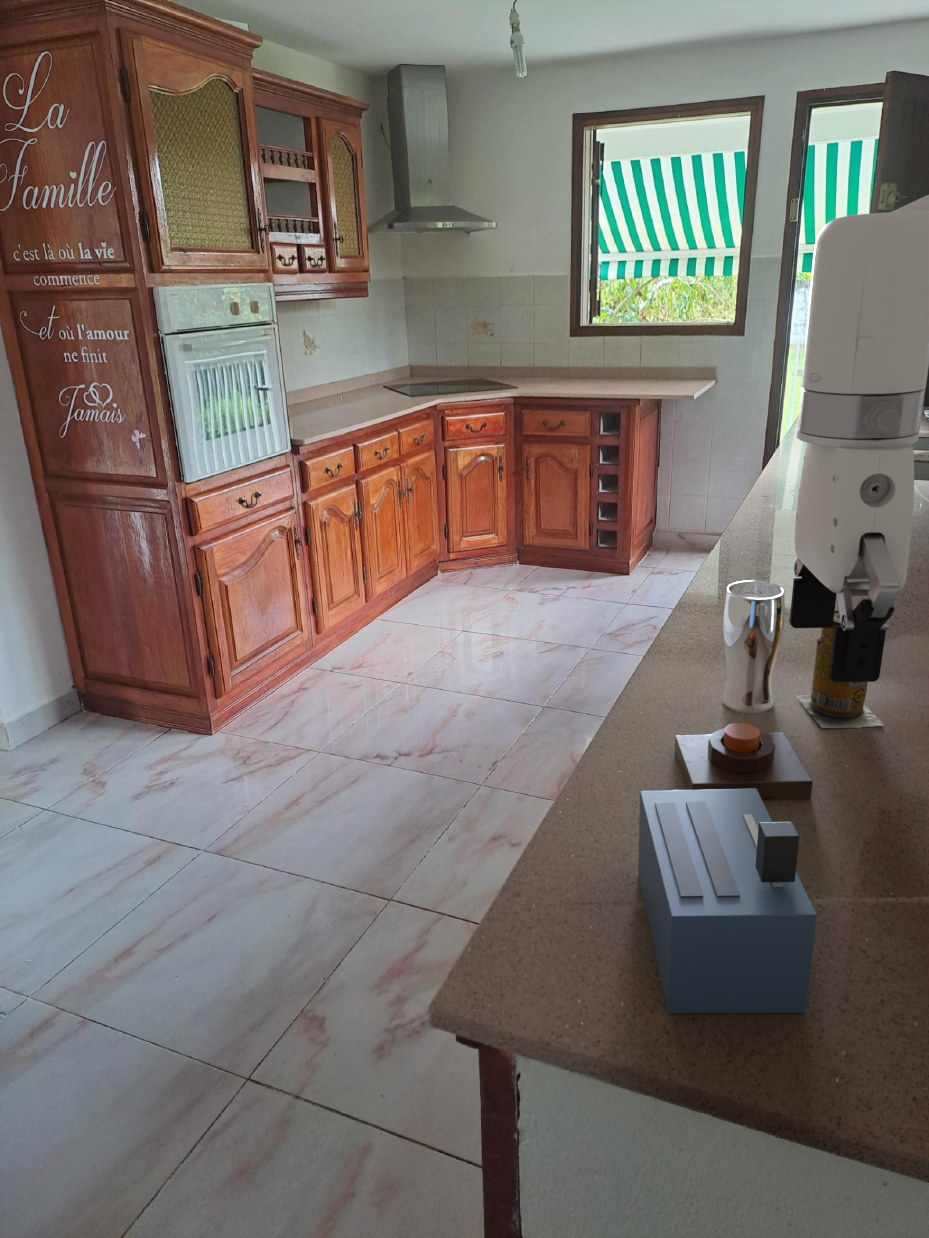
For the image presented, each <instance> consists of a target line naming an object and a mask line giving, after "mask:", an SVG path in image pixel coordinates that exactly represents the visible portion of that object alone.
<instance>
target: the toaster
mask: <svg viewBox="0 0 929 1238" xmlns="http://www.w3.org/2000/svg"><path fill="white" fill-rule="evenodd" d="M766 807H767V806H765V803H764V800H762V799H761V797H760V795H759V793H758V791H757V789H756V788H755V789H711V790H688V789H673V790H640V791H639V822H638V823H639V824H638V869H637V870H638V873H637V875H638V876H637V877H638V880H639V884H640V890H641V894H642V899H643V903H644V909H645V908H646V909H645V914H646V918H647V922H648V927H649V931H650V936H651V942H652V945H653V950H654V954H655V959H656V960H655V961H656V964H657V969H658V973H659V978H660V984H661V987H662V992H663V997H664V1001H665V1006H666V1010H667V1011H666V1012H667V1014H670V1015H672V1014H673V1015H674V1014H677V1015H679V1014H798V1013H799V1014H804V1013H806V1012H807V1003H808V996H809V995H808V994H809V986H810V977H811V968H812V959H813V949H814V941H815V933H816V925H817V917H818V916H817V913H816V910H815V908H814V906H813V904H812V902H811V899H810V898H809V895H808V894H807V891H806V889H805V887H804V884H803V883H802V881H801V879H800V877H799V875H798V872H797V871H796V875H795V882H761V879H760V877H759V874H758V872H757V870H756V867H755V866H756V853H757V841H758V828H759V823H763V822H773V820H772V818H771V815H770V814H769V812H768V809H767V808H766Z"/></svg>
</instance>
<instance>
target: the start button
mask: <svg viewBox="0 0 929 1238" xmlns="http://www.w3.org/2000/svg"><path fill="white" fill-rule="evenodd" d="M724 728H725V729H724ZM724 728H723V729H724V747H726V748H727V749H729V750H732V751H736V752H740V753H744V752H754V751H757V750H758V749H759V741H760V732H761V731H760V729H759V728H757V727H756V726H755V725H752V724H749V723H744V722H743V723H742V722H733V723H729V724H728V725H726V726H725V727H724Z"/></svg>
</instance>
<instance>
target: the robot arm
mask: <svg viewBox="0 0 929 1238" xmlns="http://www.w3.org/2000/svg"><path fill="white" fill-rule="evenodd" d="M812 259H813V260H812V270H811V280H810V289H809V290H810V291H809V299H808V310H807V311H808V312H807V322H806V333H805V343H804V351H803V352H804V354H803V364H802V373H801V374H802V376H801V388H800V395H799V407H798V416H797V418H798V419H797V426H796V427H797V430H796V438H797V439H798V440H799V441H801V442H803V443H806V446H805V450H804V455H803V463H802V469H801V474H800V481H799V487H798V495H797V504H796V511H795V512H796V514H795V523H794V551H795V554H796V560H795V562H794V566H793V573H794V576H795V577H794V578H793V581H792V591H791V592H792V593H791V602H790V611H789V612H790V613H789V625H790V626H791V627H792V628H793V629H821V628H829V627H831V626H832V625H833V620H834V611H835V610H836V602H837V606H838V610H839V614H840V622H841V625H835V626H834V634H833V643H832V651H831V659H830V668H829V677H830V678H831V679H832V681H834V682H868V683H873V682H877V681H878V680H879V679H880V676H881V670H882V669H881V668H882V662H883V654H884V647H885V641H886V634H887V631H888V630H889V629H890V625H891V620H890V619H891V617H892V616H893V613H894V612H895V607H894V603H895V601H896V599H897V597H898V595H899V592H901V590H903V589H904V587H905V585H906V583H907V582H906V580H907V574H908V566H909V557H910V548H911V538H912V537H911V536H912V527H913V515H914V514H913V513H914V498H915V497H914V496H915V453H914V446H913V445H912V444H915V443H917V442H918V441H919V437H920V429H921V424H922V423H921V422H922V415H923V410H924V401H925V396H926V395H925V394H926V388H927V380H928V374H929V194H927V195H925V196H923V197H920V198H918V199H916V200H914V201H912V202H909V203H908V204H905V205H903V206H901V207H898V208H897V209H894V210H893V211H889V212H874V213H872V212H871V213H860V214H851V215H846V216H845V215H844V216H841V217H836V218H835V219H832V220H830V221H828V222H827V223H826V224H825V225H824V226H822V228H821V229H820V231H819V233H818V235H817V237H816V240H815V243H814V251H813V258H812ZM848 580H868V581H848ZM853 597H867V598H862V599H861V600H860V601H859V602H858V604H857V605H856V606H855V608H854V604H853Z"/></svg>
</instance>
